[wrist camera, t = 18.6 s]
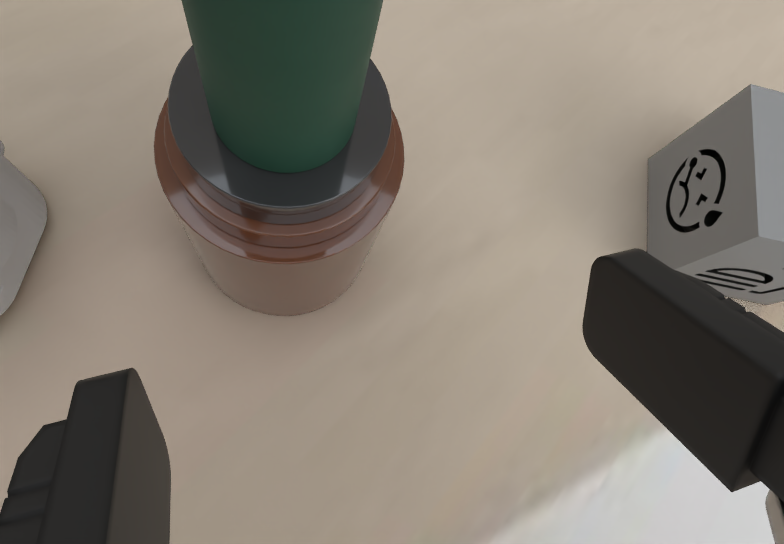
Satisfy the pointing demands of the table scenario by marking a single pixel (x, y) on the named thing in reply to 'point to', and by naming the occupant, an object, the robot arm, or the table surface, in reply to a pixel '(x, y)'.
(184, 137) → the brown bottle
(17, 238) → the cable organizer
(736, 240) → the icon cube
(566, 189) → the table surface
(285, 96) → the green bottle
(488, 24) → the table surface
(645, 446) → the table surface
